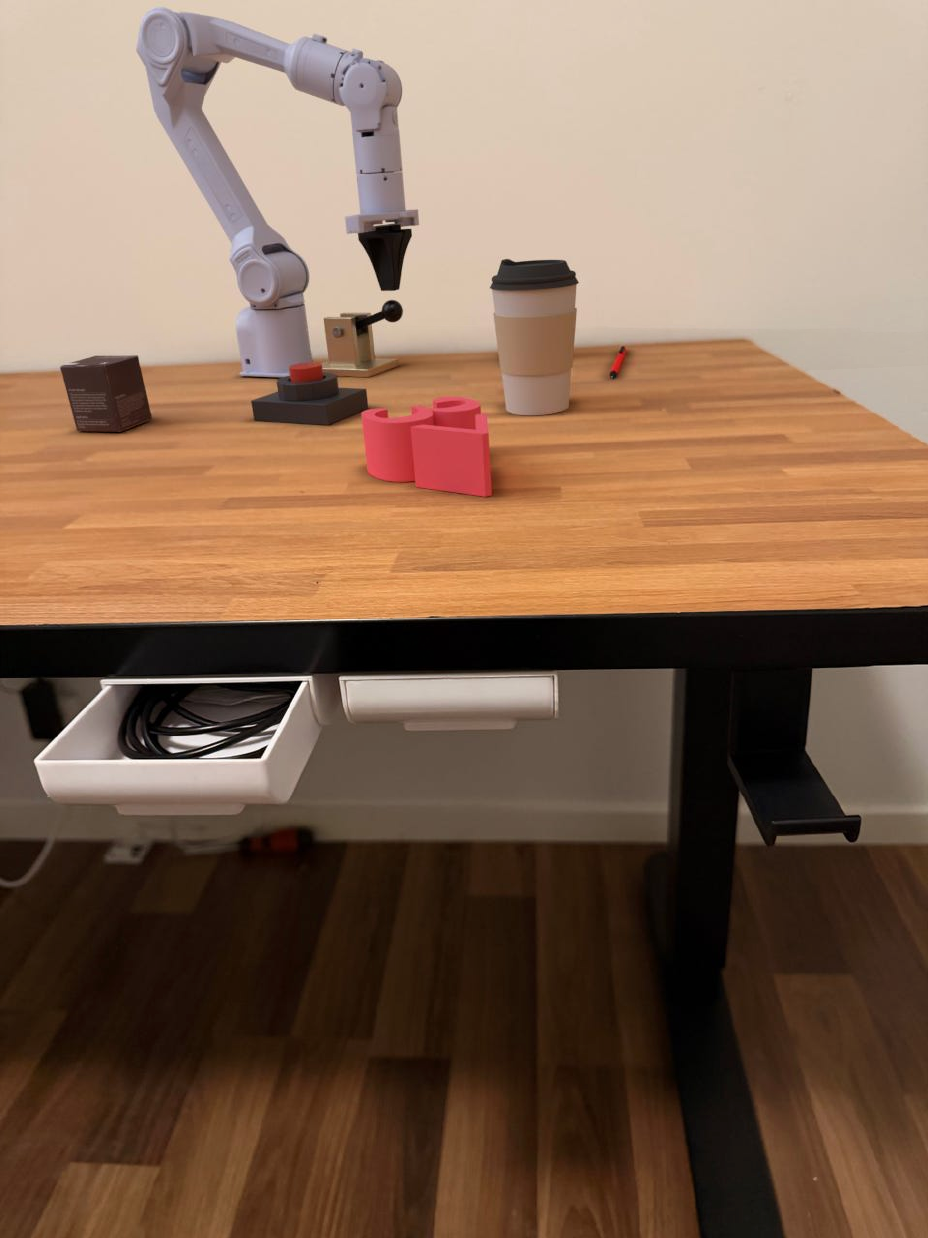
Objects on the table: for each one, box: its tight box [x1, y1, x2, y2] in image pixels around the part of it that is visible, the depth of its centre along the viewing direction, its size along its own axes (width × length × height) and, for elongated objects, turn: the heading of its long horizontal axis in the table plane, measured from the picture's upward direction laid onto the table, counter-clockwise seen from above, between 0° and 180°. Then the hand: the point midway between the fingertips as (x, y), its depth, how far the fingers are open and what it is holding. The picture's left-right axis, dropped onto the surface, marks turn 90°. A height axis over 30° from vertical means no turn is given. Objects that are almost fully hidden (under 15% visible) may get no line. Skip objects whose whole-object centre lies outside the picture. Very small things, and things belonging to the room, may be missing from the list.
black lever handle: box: [355, 299, 404, 336], centre depth 120 cm, size 10×3×3 cm, turn 64°
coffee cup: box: [489, 258, 580, 416], centre depth 94 cm, size 9×9×15 cm
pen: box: [609, 345, 627, 379], centre depth 116 cm, size 1×19×1 cm, turn 166°
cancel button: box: [289, 362, 324, 382], centre depth 99 cm, size 4×4×2 cm
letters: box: [360, 396, 493, 498], centre depth 75 cm, size 14×10×5 cm
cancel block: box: [250, 373, 369, 426], centre depth 100 cm, size 10×8×4 cm
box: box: [59, 354, 153, 433], centre depth 100 cm, size 6×6×7 cm
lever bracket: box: [320, 312, 400, 378], centre depth 122 cm, size 10×8×7 cm
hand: (390, 290), depth 116 cm, fingers closed
